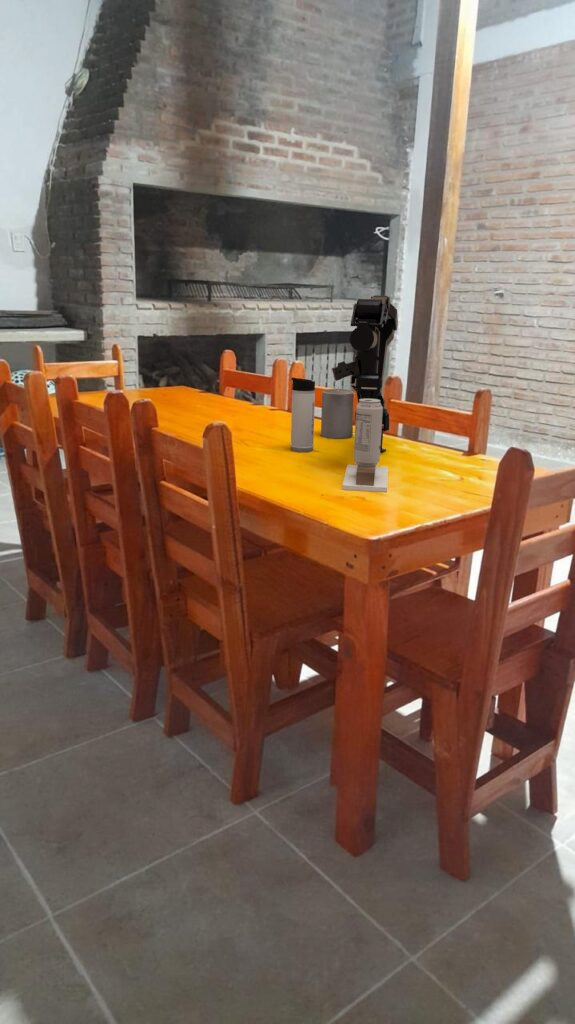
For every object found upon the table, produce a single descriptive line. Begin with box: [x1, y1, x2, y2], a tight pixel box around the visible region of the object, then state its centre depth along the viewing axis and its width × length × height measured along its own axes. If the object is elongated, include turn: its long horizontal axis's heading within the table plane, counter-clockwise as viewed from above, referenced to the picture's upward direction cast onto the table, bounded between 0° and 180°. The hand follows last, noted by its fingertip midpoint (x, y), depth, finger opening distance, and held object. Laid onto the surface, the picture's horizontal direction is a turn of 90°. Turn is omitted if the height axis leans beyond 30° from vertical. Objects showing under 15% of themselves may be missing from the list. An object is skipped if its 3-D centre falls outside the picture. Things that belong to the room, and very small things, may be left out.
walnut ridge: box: [356, 466, 376, 486], centre depth 170 cm, size 18×4×3 cm, turn 172°
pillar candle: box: [320, 386, 355, 440], centre depth 218 cm, size 10×10×15 cm
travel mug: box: [290, 377, 316, 453], centre depth 197 cm, size 6×7×20 cm
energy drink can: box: [353, 399, 383, 467], centre depth 166 cm, size 6×6×15 cm
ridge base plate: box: [341, 464, 389, 493], centre depth 170 cm, size 20×10×1 cm, turn 172°
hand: (363, 415), depth 181 cm, fingers open, 9 cm apart
